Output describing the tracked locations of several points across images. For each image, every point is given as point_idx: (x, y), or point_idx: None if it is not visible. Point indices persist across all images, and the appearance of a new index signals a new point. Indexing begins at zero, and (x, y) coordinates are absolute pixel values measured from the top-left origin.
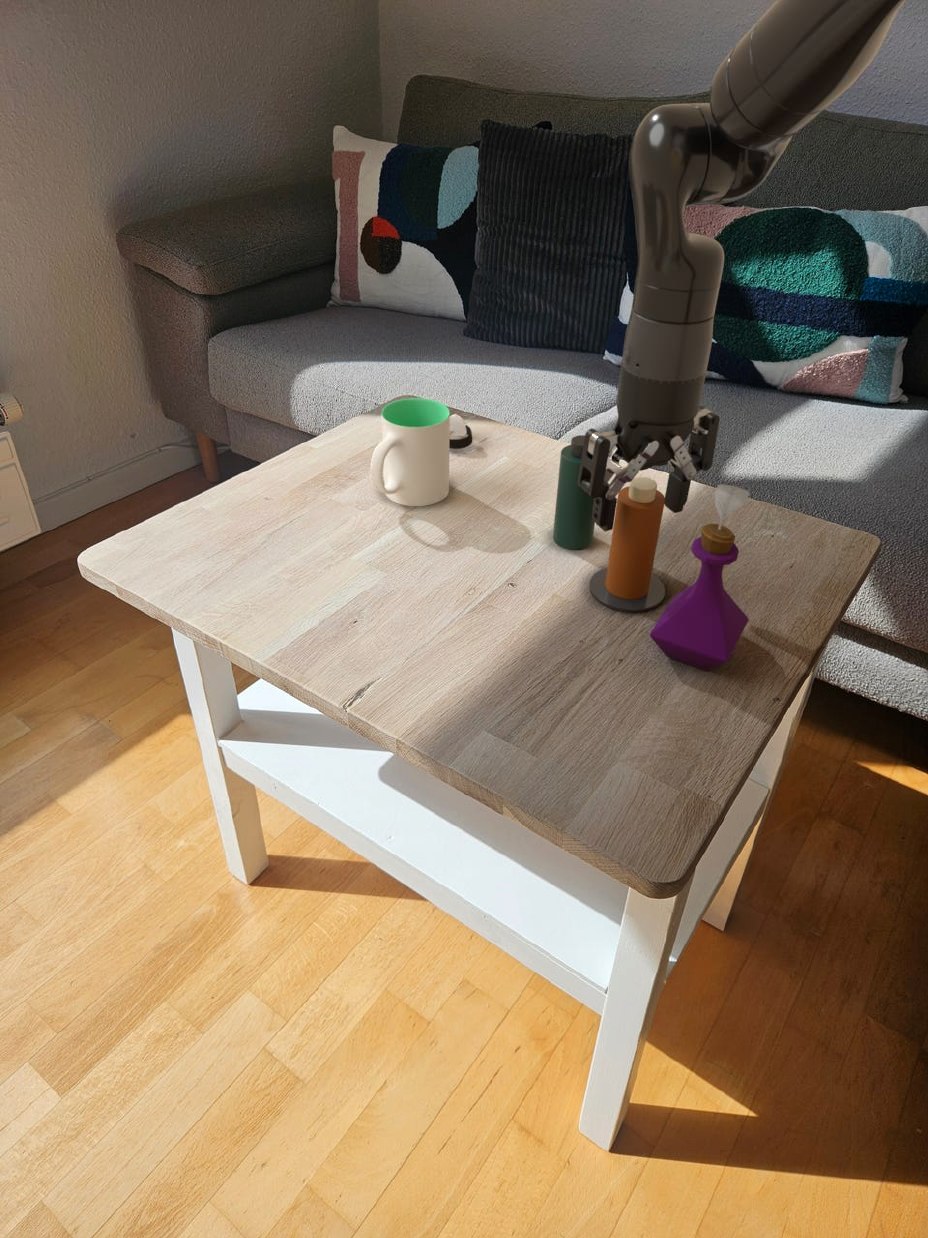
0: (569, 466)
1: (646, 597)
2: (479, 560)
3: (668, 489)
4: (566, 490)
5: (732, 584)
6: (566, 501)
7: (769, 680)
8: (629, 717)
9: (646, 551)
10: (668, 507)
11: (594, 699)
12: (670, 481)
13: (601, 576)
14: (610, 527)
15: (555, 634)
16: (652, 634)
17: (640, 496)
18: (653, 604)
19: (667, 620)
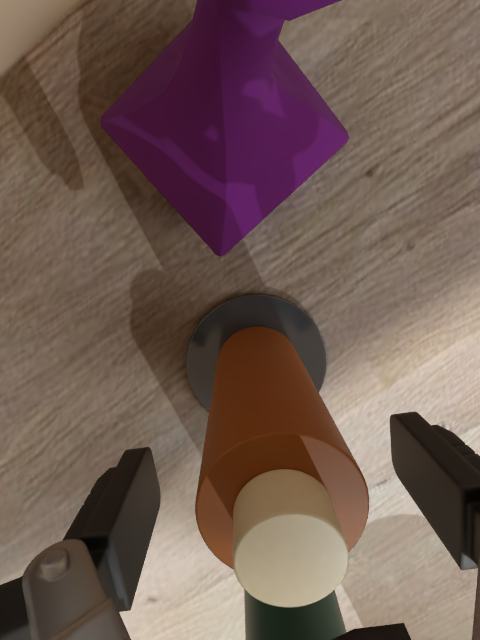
0: None
1: (237, 325)
2: None
3: (146, 537)
4: (343, 630)
5: (50, 323)
6: (334, 598)
7: (122, 19)
8: (440, 6)
9: (262, 362)
10: (157, 479)
11: (473, 80)
12: (136, 566)
13: None
14: (405, 416)
15: (443, 279)
16: (346, 132)
17: (320, 495)
18: (235, 301)
19: (323, 119)
